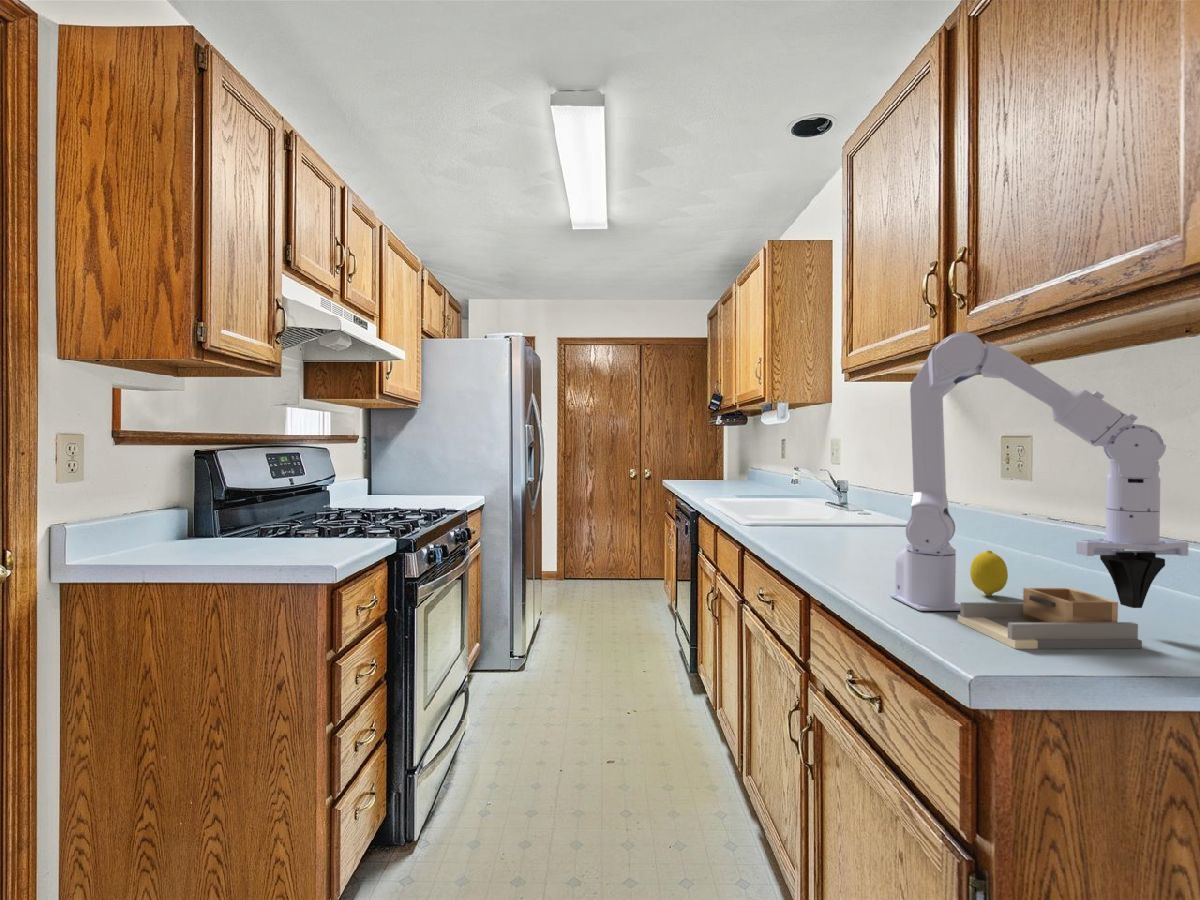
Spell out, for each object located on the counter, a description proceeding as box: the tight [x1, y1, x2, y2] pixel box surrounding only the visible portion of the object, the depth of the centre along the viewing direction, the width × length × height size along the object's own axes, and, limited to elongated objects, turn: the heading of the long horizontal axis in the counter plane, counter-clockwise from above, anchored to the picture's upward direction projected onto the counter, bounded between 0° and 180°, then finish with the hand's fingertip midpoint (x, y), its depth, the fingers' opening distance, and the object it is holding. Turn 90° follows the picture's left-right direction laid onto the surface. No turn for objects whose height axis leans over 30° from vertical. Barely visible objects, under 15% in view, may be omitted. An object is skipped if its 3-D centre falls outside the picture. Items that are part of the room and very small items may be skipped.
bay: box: [957, 601, 1143, 650], centre depth 85 cm, size 12×17×3 cm
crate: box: [1022, 587, 1119, 622], centre depth 85 cm, size 8×8×4 cm
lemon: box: [969, 549, 1009, 597], centre depth 106 cm, size 6×6×8 cm
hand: (1131, 606), depth 85 cm, fingers closed
